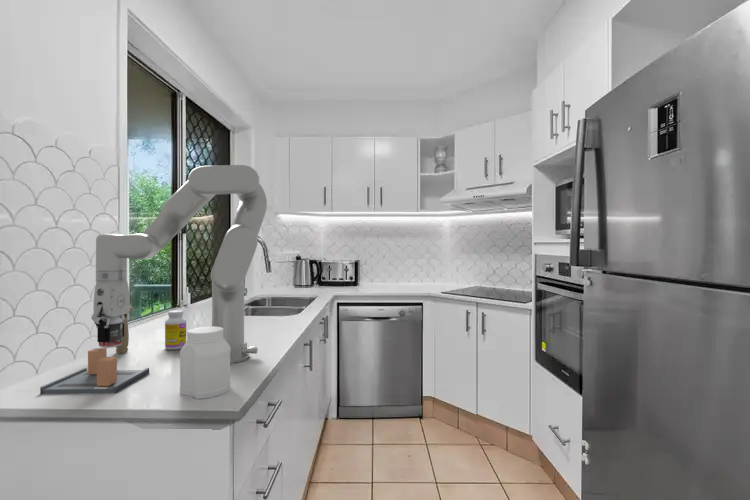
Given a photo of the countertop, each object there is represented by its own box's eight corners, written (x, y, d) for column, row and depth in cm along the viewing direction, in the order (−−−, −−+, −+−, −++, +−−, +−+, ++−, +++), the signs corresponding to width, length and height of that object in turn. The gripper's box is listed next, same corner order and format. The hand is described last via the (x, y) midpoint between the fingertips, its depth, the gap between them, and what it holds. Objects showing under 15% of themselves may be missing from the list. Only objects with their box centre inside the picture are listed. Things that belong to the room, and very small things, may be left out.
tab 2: (116, 381, 103) (116, 357, 103) (109, 385, 100) (109, 360, 100) (104, 381, 103) (104, 357, 102) (96, 385, 100) (96, 360, 99)
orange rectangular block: (106, 370, 111) (106, 348, 111) (99, 374, 108) (99, 351, 108) (95, 370, 111) (95, 348, 111) (88, 374, 108) (87, 351, 108)
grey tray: (149, 373, 113) (149, 367, 113) (115, 393, 98) (115, 386, 98) (83, 374, 113) (83, 368, 113) (40, 393, 98) (40, 387, 98)
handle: (135, 351, 136) (135, 307, 136) (114, 356, 131) (113, 309, 131) (129, 349, 139) (128, 305, 139) (108, 353, 134) (107, 308, 134)
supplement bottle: (180, 350, 138) (180, 312, 138) (161, 350, 138) (161, 312, 138) (189, 345, 145) (189, 309, 145) (171, 345, 145) (171, 309, 145)
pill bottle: (97, 349, 113) (97, 313, 113) (100, 344, 118) (100, 310, 118) (121, 347, 116) (121, 312, 116) (123, 342, 121) (123, 309, 121)
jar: (173, 392, 99) (172, 330, 99) (206, 381, 107) (206, 324, 107) (204, 401, 93) (204, 336, 93) (237, 388, 101) (237, 328, 101)
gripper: (105, 279, 109) (105, 346, 109) (141, 274, 126) (140, 333, 126) (76, 279, 108) (76, 346, 109) (116, 274, 126) (116, 333, 126)
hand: (111, 338), depth 117 cm, fingers closed on pill bottle, 5 cm apart
